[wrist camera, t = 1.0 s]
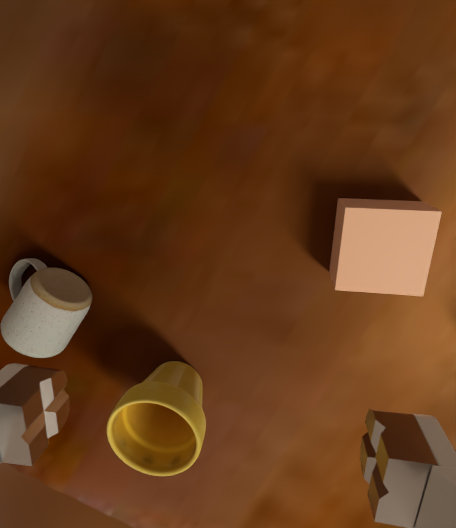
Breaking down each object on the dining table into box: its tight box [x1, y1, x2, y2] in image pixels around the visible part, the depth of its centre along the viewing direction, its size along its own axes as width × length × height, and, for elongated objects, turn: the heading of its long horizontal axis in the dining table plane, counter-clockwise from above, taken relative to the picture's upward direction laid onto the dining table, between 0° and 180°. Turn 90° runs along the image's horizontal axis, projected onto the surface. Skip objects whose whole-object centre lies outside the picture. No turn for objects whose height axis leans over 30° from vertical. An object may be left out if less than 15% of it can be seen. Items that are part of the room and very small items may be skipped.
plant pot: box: [107, 361, 206, 476], centre depth 43 cm, size 10×10×10 cm
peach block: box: [329, 198, 442, 296], centre depth 36 cm, size 8×8×5 cm
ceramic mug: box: [1, 258, 92, 358], centre depth 42 cm, size 11×8×8 cm
